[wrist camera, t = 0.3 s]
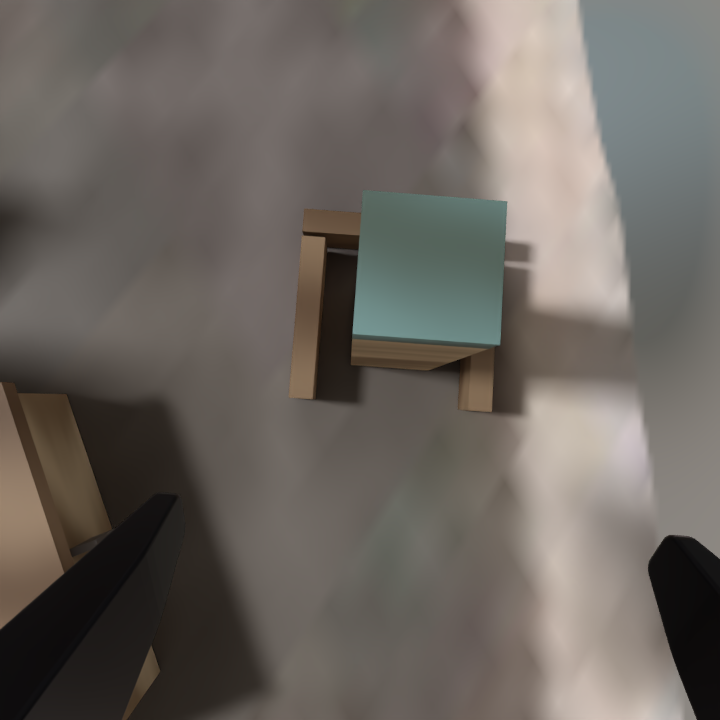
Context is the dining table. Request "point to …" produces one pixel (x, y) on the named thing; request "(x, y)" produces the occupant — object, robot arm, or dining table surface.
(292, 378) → the frame
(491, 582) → the dining table surface
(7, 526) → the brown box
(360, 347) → the teal long block
